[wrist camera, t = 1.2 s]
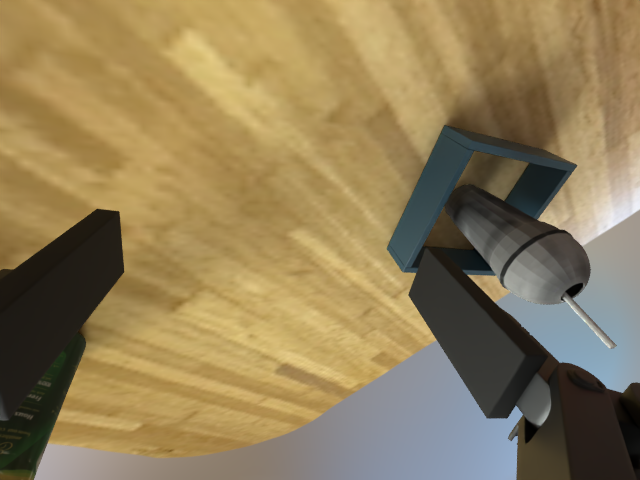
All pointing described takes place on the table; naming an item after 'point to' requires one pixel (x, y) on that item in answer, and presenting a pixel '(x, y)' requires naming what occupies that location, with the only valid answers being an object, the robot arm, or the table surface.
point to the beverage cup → (523, 250)
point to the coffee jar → (37, 416)
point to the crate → (441, 179)
